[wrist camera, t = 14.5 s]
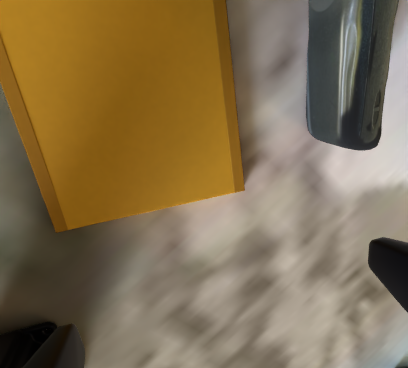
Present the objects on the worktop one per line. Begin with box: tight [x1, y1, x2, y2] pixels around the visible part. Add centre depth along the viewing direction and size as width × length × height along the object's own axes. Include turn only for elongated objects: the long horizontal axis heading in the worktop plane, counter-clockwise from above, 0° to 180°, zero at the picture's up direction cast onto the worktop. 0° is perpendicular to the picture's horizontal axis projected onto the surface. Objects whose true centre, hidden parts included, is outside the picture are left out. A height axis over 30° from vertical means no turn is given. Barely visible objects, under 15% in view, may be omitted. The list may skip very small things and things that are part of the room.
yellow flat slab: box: [0, 0, 245, 233], centre depth 16 cm, size 20×13×1 cm, turn 9°
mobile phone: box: [306, 0, 399, 150], centre depth 16 cm, size 5×3×15 cm
